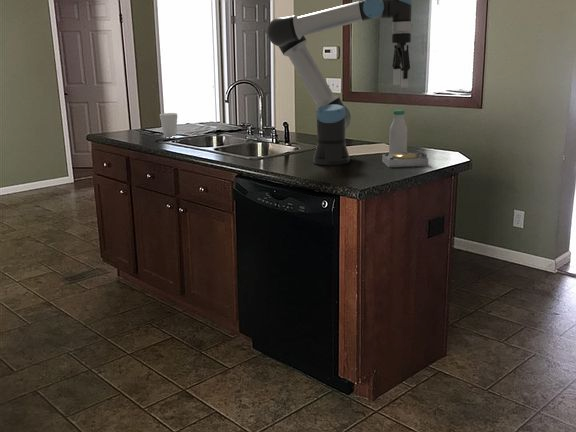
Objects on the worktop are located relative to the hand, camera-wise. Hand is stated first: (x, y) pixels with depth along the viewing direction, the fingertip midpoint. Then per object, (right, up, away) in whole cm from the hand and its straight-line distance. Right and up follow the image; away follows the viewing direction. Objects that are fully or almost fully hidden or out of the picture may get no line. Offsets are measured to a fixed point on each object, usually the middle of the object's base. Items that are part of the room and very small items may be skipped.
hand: (400, 85), depth 253 cm
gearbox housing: (+1, -33, -5) cm, 33 cm away
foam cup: (-112, -11, +82) cm, 140 cm away
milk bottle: (+1, -29, +9) cm, 30 cm away
